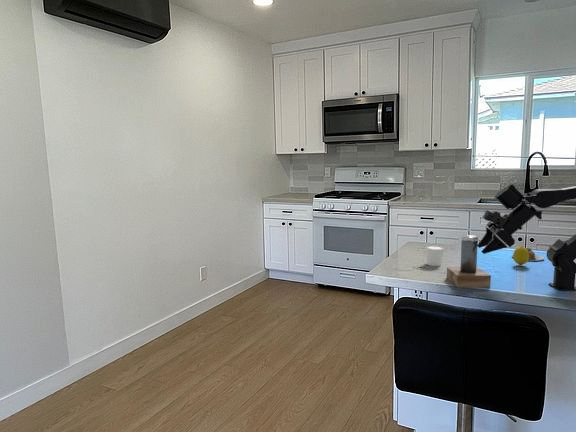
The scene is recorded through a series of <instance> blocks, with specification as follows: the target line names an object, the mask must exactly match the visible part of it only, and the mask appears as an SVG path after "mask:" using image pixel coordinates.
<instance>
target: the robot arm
mask: <svg viewBox="0 0 576 432" xmlns="http://www.w3.org/2000/svg"><path fill="white" fill-rule="evenodd" d="M494 199H495V200H496V201H498V202H499V204H501V205H502V206H503V207H504V208H505V209H506V210H509V209H511V210H512V211H511V212H509V213H508V214H507V213H506V214H503V215H501V212H498V211H496V210H494V211H491V210H489V209H486V210H485V212H484V214H483V216H482V218H483V219H484V220H485V221H487V222H488V223H486V224H485V225H486V226H485V234H484V235H483V237H482V238H481V240H480V241H478V242H479V243H478V247H477V248H478V249H481V248H483V247H484V248H483V249H482V250H481V253H482V254H483V255H485V254H486V255H487V254H488V253H491V252H495V251H499V250H502V249H507V248H508V247H509V248H511V247H512V246H513V245H515V243H516V242H515V239H514V238H513V234H515V233H516V232H517V231H518V230H519V231H521V230H522V229H523V226H524V225H526V224H527V223H528V222H529V221H530V220H532V219H533V218H534V217H535V218H536V219H538V220H542V219H543V218H542V216H543V215H542V213H543V211H542V210H540V209H547V208H550V207H553V206H556V205H558V204H560V203H562V202H565V201H571V200H576V185H574V186H569V187H562V188H540V189H539V188H537V189H533V190H532V191H531V192H528V193H522V192H520V191H519V190H518V189H517V187H516V186H515V185H514V184H512V183H510V184H508V185H507V186H505V187H504V188H503V189H500V190H499V191H498V192H497V193H496V194H495V195H494ZM525 202H526V203H529V204H526V203H525ZM534 206H535V207H537V208H539V210H538V209H536V208H535V207H534ZM546 258H547V260H548V261H549V262H550V263H551V264H552V266H553V267H554V268H553V269H554V270H553V281H552V282H549V283H548V285H549V286H551V287H553V288H555V289H556V290H559V291H576V285H575V284H576V262H575V260H576V233H575V234H574V235H573V236H572V237H570V238H568V239H566V240H562V239H560V238H559V239H557V240H556V241H554V242H553V244H551V245H549V246H548V249H547V250H546Z"/></svg>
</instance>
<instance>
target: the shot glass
mask: <svg viewBox="0 0 576 432" xmlns="http://www.w3.org/2000/svg"><path fill="white" fill-rule="evenodd" d="M425 249H426V250H425V251H426V264H427V265H428V266H433V267H440V266H442V262H443V255H444V247H442V246H436V245H435V246H434V245H429V246H428V245H427V246H426V247H425Z"/></svg>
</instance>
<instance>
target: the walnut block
mask: <svg viewBox="0 0 576 432" xmlns="http://www.w3.org/2000/svg"><path fill="white" fill-rule="evenodd" d="M460 267H461V266H455V267H454V266H452V267H446V279H447V280H448V281H450V283H452V284H453V285H454V286H455V287H457V288H491V282H492V281H491V279H492V276H491V274H489V273H488V272H486V271H485V270H484V269H481V267H480V268H479V266H477V269H476V273H463V272H461V271H460Z"/></svg>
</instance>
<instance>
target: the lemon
mask: <svg viewBox="0 0 576 432" xmlns="http://www.w3.org/2000/svg"><path fill="white" fill-rule="evenodd" d="M526 248H527V247H524V246H522V245H521V246H519V247H516V248H515V250H514V251H513V253H512V255H513V256H512V258H513V260H514V263H516V264H518V265H519V266H520V267H522V266H523V265H526V263H528V262H529V261H528V260H529V252H528V250H527V249H526Z"/></svg>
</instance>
